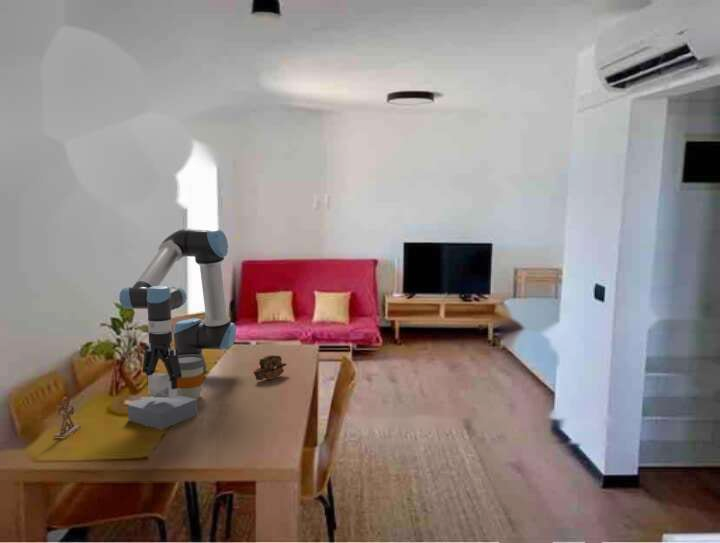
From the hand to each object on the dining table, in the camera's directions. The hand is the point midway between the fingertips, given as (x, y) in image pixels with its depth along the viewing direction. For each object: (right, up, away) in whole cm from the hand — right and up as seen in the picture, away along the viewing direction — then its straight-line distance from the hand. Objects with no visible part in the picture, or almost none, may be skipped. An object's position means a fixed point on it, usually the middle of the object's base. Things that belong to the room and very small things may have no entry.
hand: (162, 395), depth 198 cm
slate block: (0, -8, +1) cm, 8 cm away
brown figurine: (-26, -10, -13) cm, 31 cm away
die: (0, 0, 0) cm, 0 cm away
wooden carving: (+30, -3, +45) cm, 55 cm away
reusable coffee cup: (+2, -6, +23) cm, 23 cm away
